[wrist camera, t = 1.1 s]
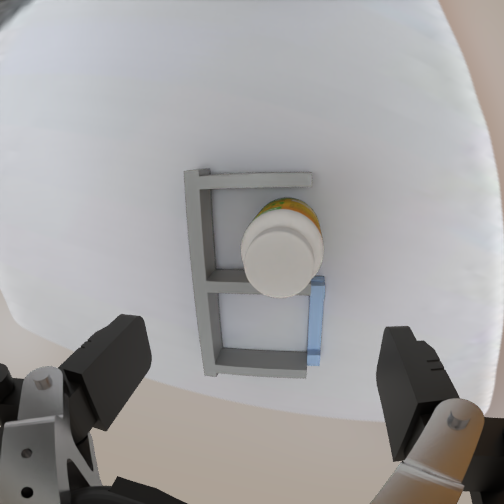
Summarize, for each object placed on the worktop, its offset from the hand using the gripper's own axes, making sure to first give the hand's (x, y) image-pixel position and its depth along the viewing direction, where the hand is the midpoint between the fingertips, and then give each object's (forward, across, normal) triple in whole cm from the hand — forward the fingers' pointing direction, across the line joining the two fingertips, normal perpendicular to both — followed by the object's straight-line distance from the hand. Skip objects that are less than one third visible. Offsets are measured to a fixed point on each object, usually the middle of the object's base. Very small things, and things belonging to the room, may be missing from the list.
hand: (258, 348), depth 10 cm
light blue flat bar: (+18, -3, +9) cm, 20 cm away
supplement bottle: (+18, 0, 0) cm, 18 cm away
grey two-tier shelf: (+18, +3, +4) cm, 19 cm away
